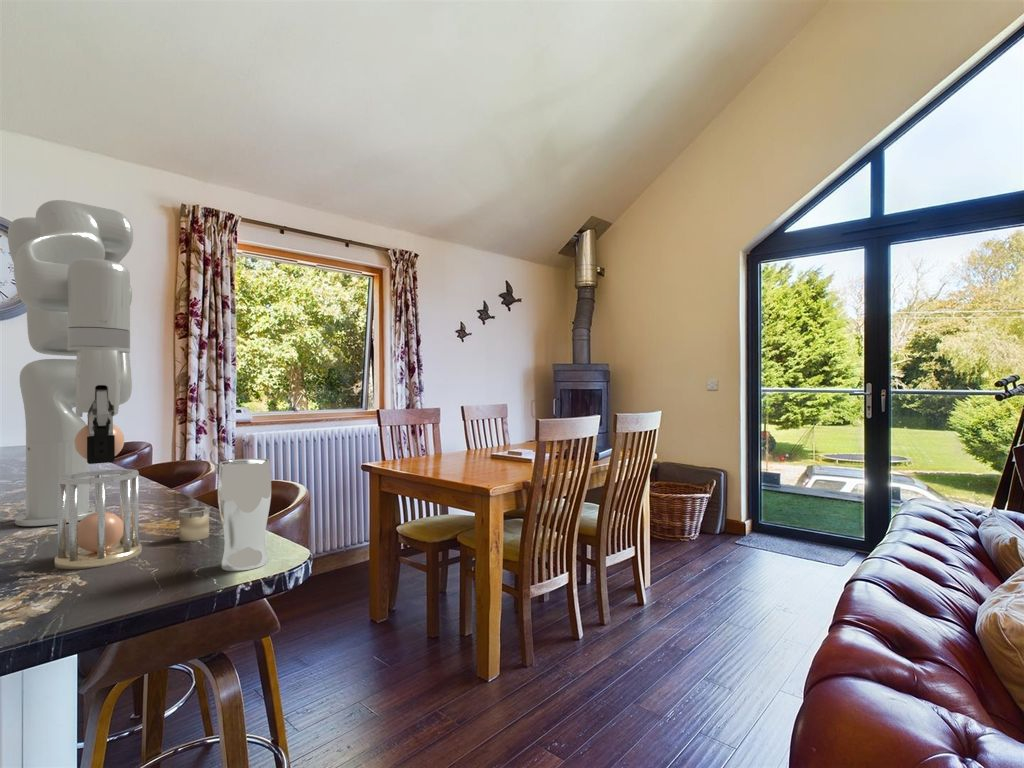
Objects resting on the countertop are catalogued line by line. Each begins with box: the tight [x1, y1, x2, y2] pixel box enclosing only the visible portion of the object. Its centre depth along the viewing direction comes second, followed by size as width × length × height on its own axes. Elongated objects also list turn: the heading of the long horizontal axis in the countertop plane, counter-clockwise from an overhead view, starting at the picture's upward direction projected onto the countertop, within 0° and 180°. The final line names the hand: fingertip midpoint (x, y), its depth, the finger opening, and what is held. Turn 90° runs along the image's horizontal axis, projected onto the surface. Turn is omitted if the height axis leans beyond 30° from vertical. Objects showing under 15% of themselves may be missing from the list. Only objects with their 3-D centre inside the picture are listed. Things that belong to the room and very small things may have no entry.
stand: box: [178, 506, 211, 542], centre depth 91 cm, size 4×4×5 cm
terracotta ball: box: [74, 424, 125, 459], centre depth 81 cm, size 6×6×6 cm
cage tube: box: [54, 468, 142, 570], centre depth 81 cm, size 10×10×13 cm
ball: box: [78, 510, 123, 552], centre depth 81 cm, size 6×6×6 cm
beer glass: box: [217, 458, 272, 572], centre depth 77 cm, size 7×7×15 cm
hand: (99, 459), depth 81 cm, fingers closed on terracotta ball, 5 cm apart
